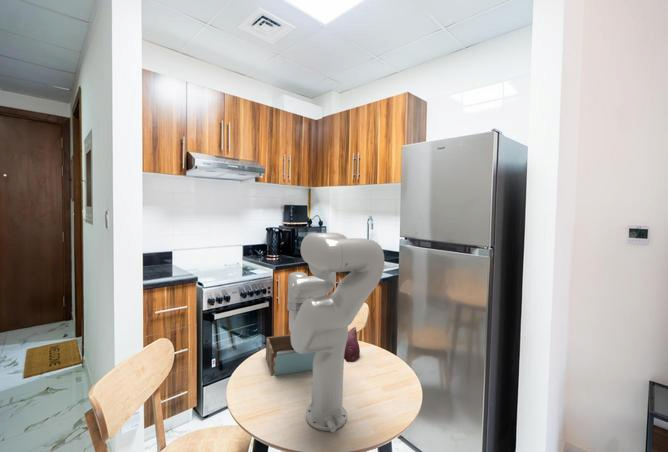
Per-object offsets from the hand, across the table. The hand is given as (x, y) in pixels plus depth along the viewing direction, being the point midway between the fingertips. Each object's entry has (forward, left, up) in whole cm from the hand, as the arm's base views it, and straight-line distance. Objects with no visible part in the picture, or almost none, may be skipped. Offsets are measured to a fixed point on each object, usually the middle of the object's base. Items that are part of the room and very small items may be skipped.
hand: (295, 352), depth 116 cm
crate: (+8, 0, -10) cm, 13 cm away
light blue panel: (+1, 0, -8) cm, 8 cm away
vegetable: (+9, -26, -10) cm, 29 cm away
